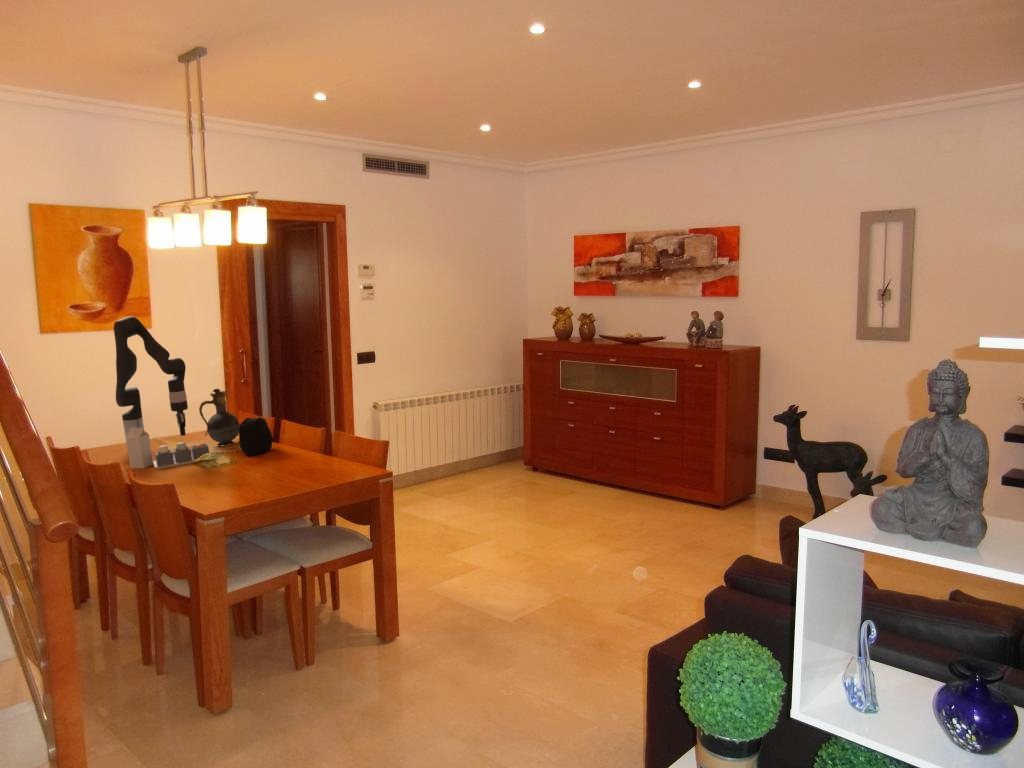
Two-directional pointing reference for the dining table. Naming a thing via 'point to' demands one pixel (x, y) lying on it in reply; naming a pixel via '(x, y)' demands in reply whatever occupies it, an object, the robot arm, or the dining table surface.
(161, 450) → the cream white egg
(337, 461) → the dining table surface
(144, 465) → the milk carton
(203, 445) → the brown egg
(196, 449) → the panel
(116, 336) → the robot arm
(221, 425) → the pitcher
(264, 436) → the black rounded dome
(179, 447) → the pale green egg
